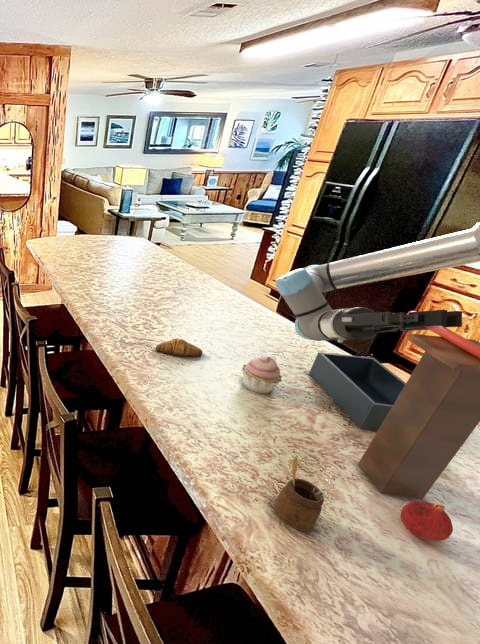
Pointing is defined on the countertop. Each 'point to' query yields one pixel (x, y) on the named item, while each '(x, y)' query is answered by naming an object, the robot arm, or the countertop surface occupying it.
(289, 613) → the countertop surface
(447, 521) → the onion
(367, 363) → the bin
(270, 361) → the cupcake
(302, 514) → the utensil holder
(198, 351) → the croissant
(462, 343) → the red long rounded rod
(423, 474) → the stand
